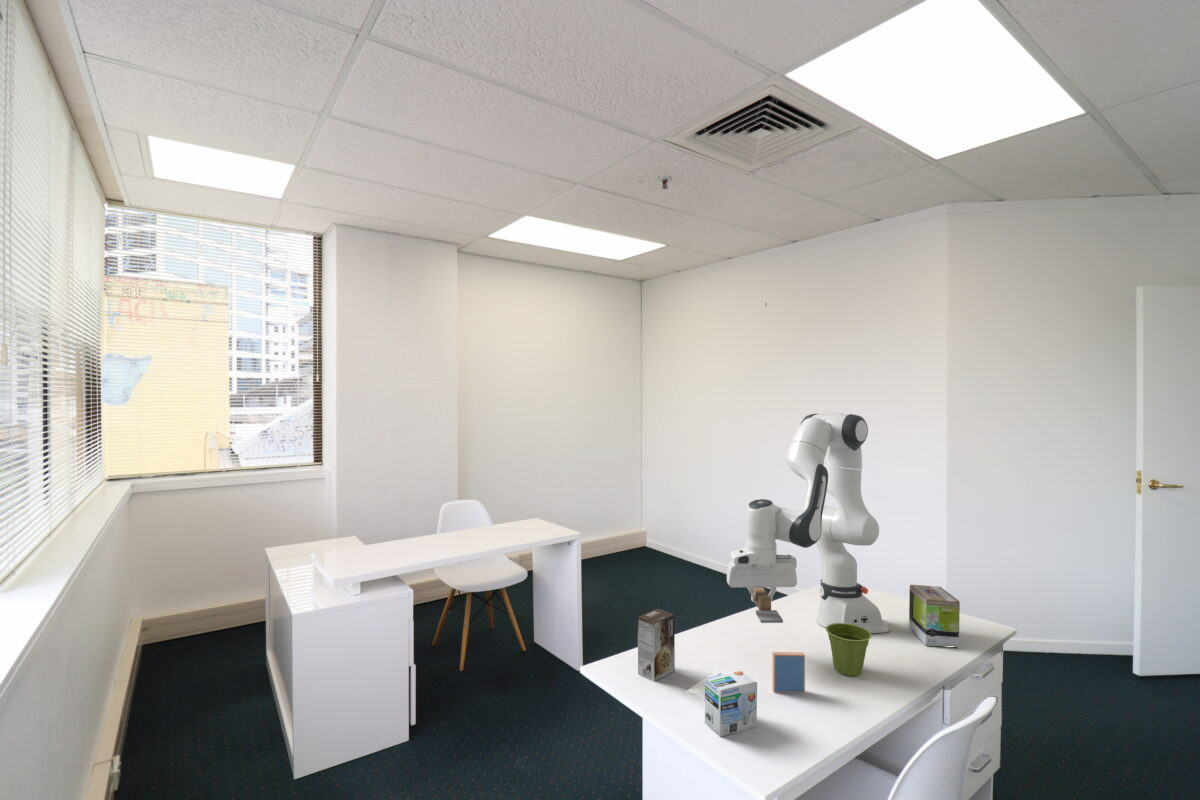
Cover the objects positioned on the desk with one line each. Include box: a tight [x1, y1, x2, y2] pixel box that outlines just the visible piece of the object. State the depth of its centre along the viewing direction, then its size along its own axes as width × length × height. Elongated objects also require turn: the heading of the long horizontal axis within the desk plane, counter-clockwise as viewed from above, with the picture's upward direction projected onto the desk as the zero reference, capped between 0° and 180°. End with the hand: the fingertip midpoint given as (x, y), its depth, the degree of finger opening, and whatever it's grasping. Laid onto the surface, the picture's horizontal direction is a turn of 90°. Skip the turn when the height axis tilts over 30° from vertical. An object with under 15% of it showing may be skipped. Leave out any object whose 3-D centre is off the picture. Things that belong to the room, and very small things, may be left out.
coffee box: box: [637, 608, 676, 682], centre depth 162 cm, size 9×6×16 cm
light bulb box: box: [704, 669, 758, 737], centre depth 137 cm, size 11×7×11 cm, turn 114°
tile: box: [771, 651, 806, 694], centre depth 152 cm, size 8×2×10 cm, turn 88°
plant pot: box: [825, 623, 873, 677], centre depth 164 cm, size 12×12×11 cm
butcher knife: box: [686, 670, 722, 699], centre depth 156 cm, size 5×15×1 cm, turn 138°
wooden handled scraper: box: [752, 587, 784, 624], centre depth 170 cm, size 17×6×4 cm, turn 178°
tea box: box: [908, 584, 961, 648], centre depth 186 cm, size 15×10×15 cm
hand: (761, 601), depth 174 cm, fingers closed on wooden handled scraper, 3 cm apart
